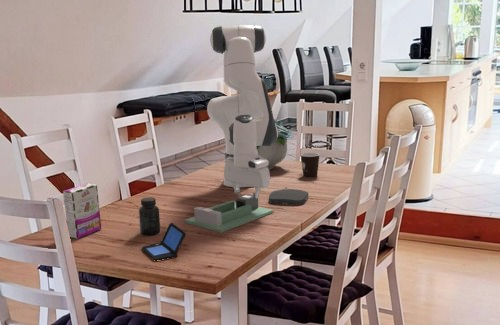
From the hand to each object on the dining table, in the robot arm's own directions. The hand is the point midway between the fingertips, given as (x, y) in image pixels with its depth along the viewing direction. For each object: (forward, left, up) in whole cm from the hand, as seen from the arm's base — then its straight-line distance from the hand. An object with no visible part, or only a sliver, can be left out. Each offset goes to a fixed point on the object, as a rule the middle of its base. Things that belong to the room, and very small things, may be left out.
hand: (246, 195), depth 224 cm
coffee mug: (-59, -13, -6) cm, 61 cm away
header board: (+10, +1, -6) cm, 12 cm away
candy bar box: (+53, -27, -6) cm, 60 cm away
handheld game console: (+48, +8, -6) cm, 49 cm away
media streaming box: (-21, +4, -7) cm, 22 cm away
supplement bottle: (+39, -9, -6) cm, 41 cm away
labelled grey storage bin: (0, +1, -5) cm, 5 cm away
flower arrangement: (-58, -39, -6) cm, 70 cm away
